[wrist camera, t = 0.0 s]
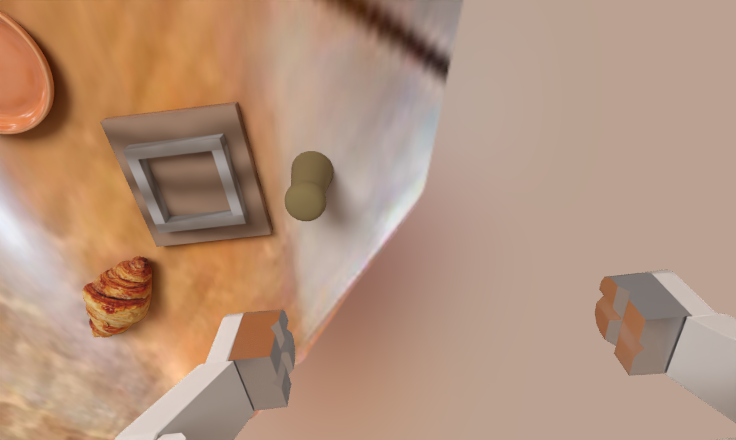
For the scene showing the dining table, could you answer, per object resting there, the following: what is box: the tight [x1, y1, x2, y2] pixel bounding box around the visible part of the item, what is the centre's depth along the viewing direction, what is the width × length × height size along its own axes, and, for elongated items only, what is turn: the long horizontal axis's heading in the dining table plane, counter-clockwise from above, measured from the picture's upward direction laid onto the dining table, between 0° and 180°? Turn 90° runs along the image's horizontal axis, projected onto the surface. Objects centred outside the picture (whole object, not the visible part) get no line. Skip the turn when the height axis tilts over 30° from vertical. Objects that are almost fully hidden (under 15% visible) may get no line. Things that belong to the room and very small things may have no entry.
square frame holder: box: [101, 102, 272, 247], centre depth 60 cm, size 20×18×4 cm
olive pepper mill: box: [285, 151, 333, 221], centre depth 56 cm, size 6×6×11 cm
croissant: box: [83, 257, 152, 337], centre depth 70 cm, size 21×10×8 cm, turn 144°
